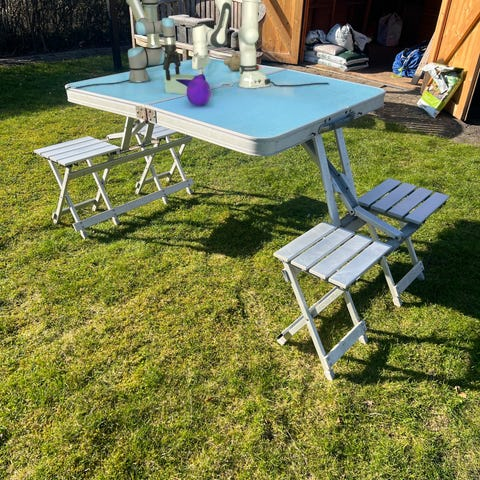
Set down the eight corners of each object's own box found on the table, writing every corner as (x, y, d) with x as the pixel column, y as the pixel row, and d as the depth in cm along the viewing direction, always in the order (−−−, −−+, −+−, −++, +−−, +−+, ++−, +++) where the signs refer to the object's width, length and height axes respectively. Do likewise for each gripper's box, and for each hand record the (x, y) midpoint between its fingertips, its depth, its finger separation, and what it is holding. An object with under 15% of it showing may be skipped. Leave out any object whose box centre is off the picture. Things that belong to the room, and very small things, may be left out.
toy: (199, 96, 289) (211, 111, 269) (173, 92, 282) (183, 107, 261) (204, 71, 281) (217, 85, 261) (177, 66, 274) (188, 79, 253)
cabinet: (199, 90, 306) (198, 75, 301) (192, 94, 297) (191, 78, 292) (173, 89, 312) (172, 73, 307) (165, 92, 303) (164, 77, 298)
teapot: (227, 73, 361) (227, 53, 353) (221, 70, 369) (220, 51, 362) (250, 70, 370) (250, 50, 362) (243, 68, 378) (242, 49, 371)
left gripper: (165, 46, 281) (169, 82, 291) (183, 42, 301) (186, 75, 311) (155, 46, 283) (159, 81, 293) (173, 42, 303) (176, 75, 314)
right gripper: (197, 54, 278) (199, 77, 285) (211, 49, 294) (212, 72, 301) (188, 54, 280) (190, 77, 287) (202, 49, 296) (203, 71, 303)
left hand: (173, 78), depth 302 cm, fingers open, 13 cm apart
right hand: (201, 74), depth 294 cm, fingers closed
